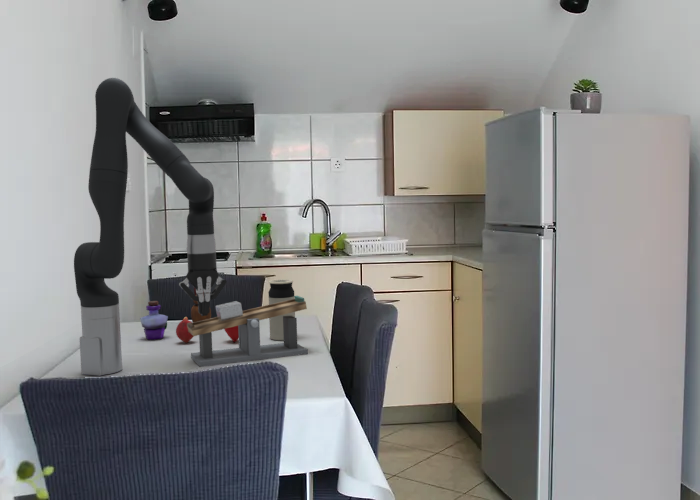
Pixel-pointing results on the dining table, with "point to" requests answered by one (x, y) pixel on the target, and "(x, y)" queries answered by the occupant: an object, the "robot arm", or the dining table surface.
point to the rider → (229, 310)
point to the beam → (247, 316)
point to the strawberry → (232, 333)
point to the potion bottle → (154, 322)
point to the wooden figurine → (195, 313)
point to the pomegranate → (184, 331)
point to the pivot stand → (250, 345)
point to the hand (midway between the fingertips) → (204, 315)
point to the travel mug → (277, 293)
